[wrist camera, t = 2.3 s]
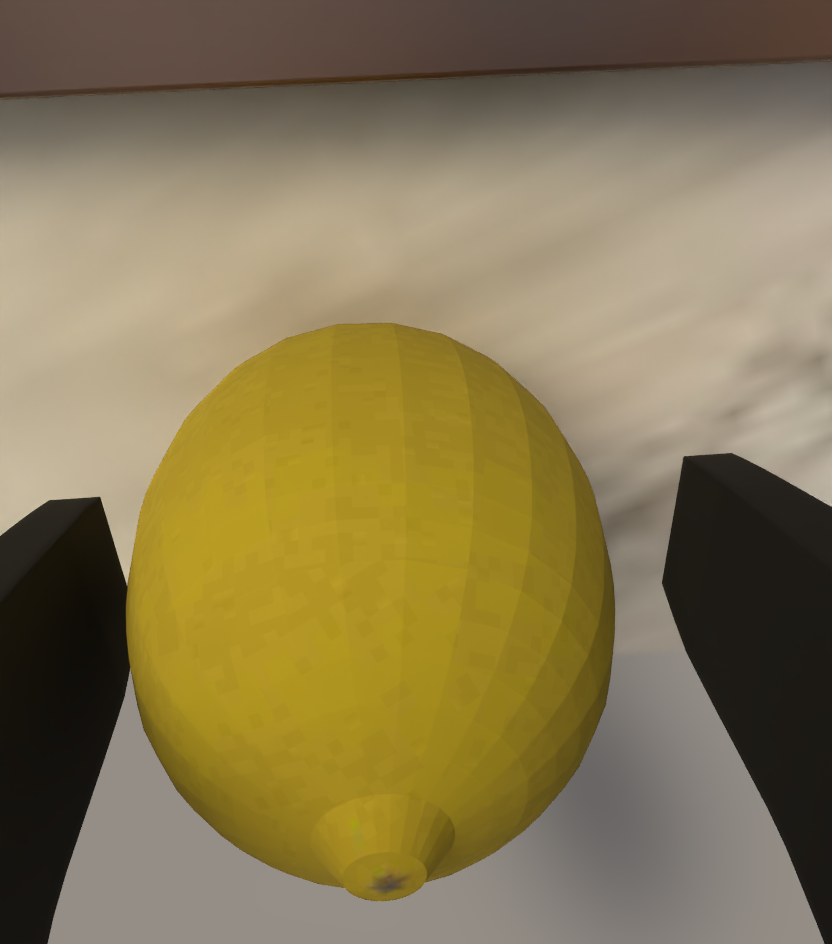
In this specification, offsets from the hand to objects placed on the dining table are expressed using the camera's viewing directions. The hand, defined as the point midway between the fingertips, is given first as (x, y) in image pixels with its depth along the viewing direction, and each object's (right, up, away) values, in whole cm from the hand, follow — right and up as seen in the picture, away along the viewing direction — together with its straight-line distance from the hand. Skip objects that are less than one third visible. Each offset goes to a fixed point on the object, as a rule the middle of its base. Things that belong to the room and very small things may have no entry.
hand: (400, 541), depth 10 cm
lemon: (-1, +2, +3) cm, 4 cm away
